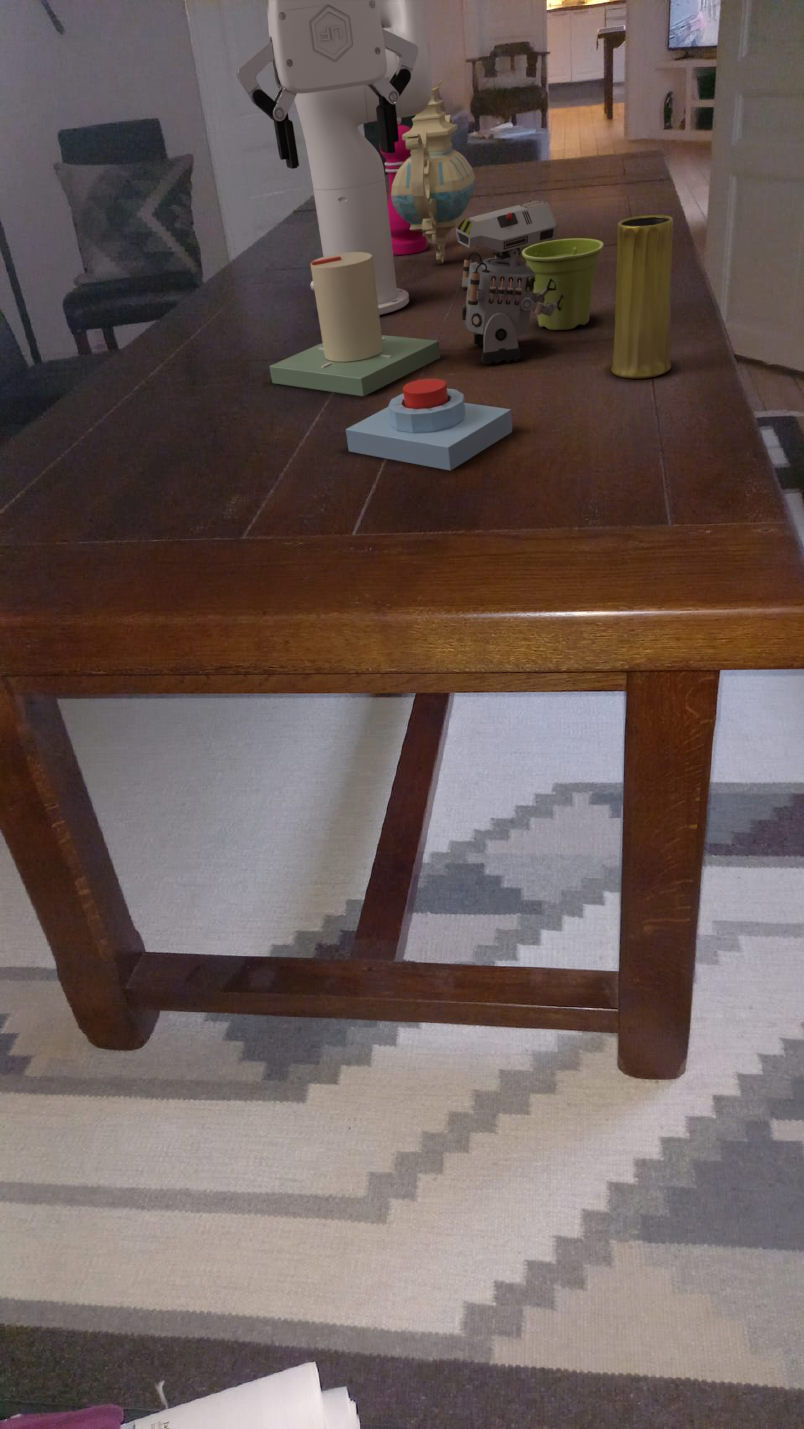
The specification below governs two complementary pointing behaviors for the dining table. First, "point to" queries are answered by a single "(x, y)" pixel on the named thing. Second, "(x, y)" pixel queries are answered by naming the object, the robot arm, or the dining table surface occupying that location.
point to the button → (425, 393)
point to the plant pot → (565, 278)
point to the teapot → (433, 177)
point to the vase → (643, 297)
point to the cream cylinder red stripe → (347, 306)
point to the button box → (430, 432)
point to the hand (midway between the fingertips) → (340, 160)
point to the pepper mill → (400, 229)
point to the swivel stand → (355, 367)
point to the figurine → (504, 277)
